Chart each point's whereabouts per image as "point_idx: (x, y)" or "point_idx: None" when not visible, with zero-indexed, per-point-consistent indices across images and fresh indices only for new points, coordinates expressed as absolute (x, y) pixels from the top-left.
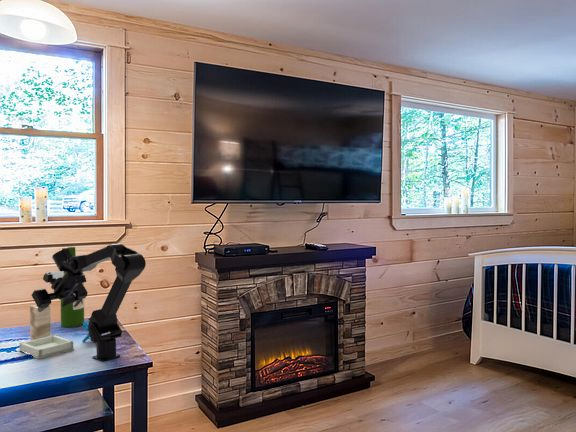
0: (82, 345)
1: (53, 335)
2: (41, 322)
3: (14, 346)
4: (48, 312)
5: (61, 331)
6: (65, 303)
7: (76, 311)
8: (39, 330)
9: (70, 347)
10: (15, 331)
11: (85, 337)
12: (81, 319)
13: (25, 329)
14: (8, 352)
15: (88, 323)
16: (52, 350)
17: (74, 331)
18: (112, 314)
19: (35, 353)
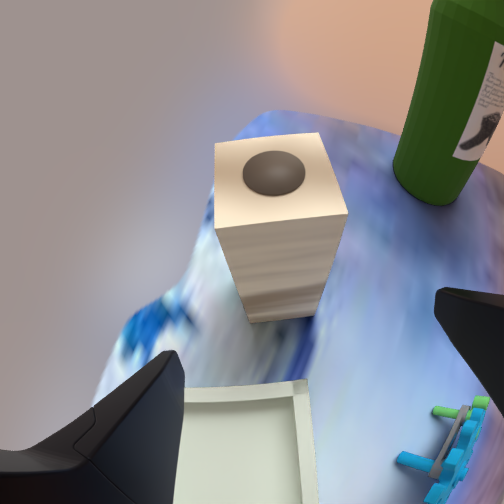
0: (374, 497)
1: (301, 387)
2: (267, 284)
3: (168, 298)
4: (323, 249)
5: (383, 226)
6: (470, 342)
7: (459, 165)
8: (256, 303)
9: None
10: (257, 135)
11: (415, 464)
12: (459, 190)
13: (287, 134)
14: (121, 358)
15: (474, 430)
16: None
17: (424, 261)
18: None
19: None
